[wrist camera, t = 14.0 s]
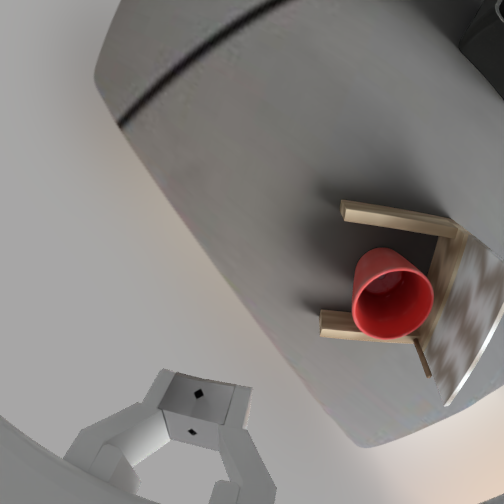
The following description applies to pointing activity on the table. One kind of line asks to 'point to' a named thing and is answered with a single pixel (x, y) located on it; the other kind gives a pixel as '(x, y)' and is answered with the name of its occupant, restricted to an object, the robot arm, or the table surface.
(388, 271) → the flower pot
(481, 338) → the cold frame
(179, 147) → the table surface
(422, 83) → the table surface
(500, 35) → the flower pot
